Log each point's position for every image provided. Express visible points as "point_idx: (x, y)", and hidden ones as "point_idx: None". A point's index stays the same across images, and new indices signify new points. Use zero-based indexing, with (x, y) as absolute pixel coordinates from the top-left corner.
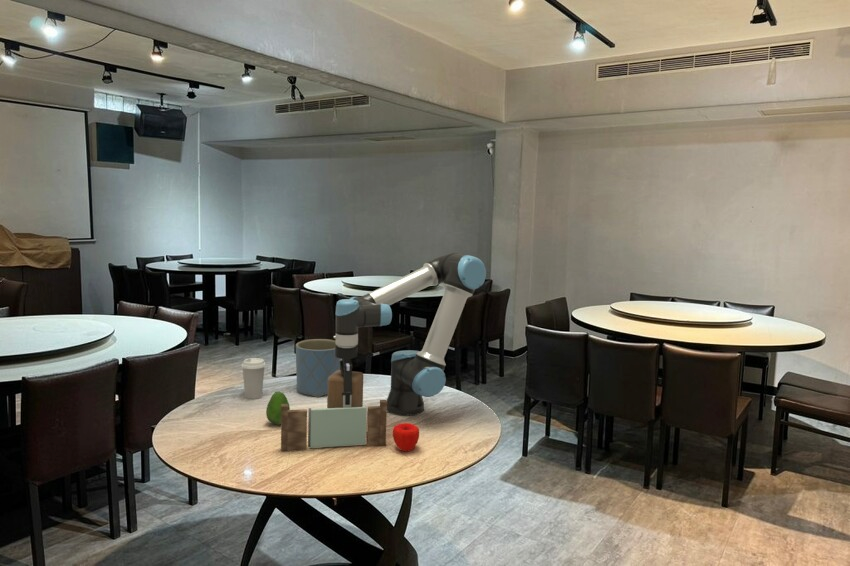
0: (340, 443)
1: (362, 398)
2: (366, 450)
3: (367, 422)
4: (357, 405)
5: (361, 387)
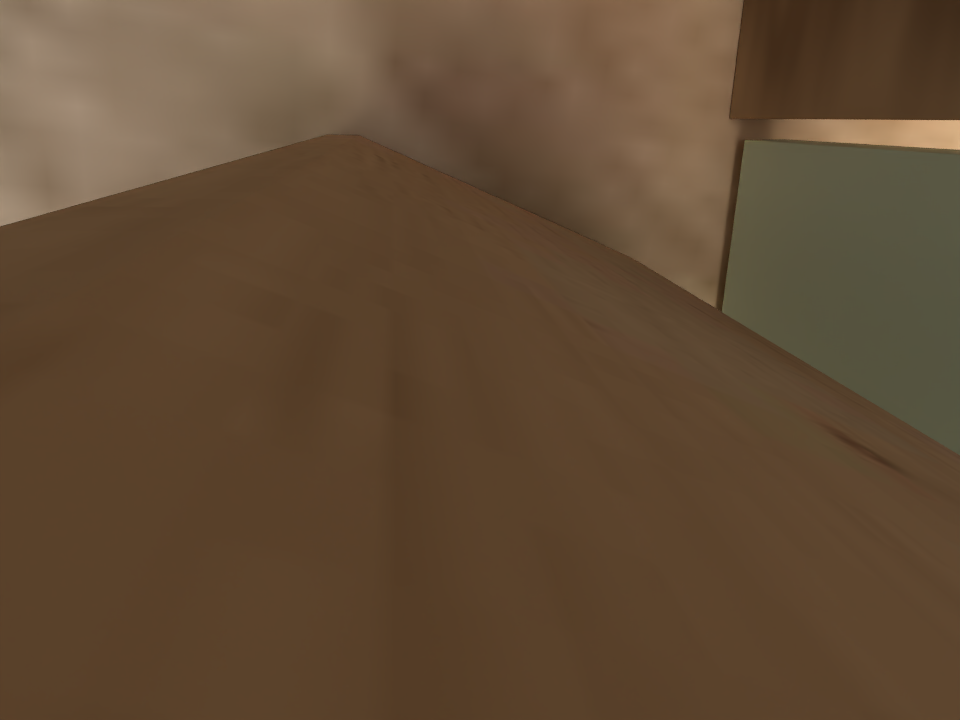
0: None
1: (348, 178)
2: (871, 142)
3: (932, 119)
4: (738, 340)
5: (575, 395)
